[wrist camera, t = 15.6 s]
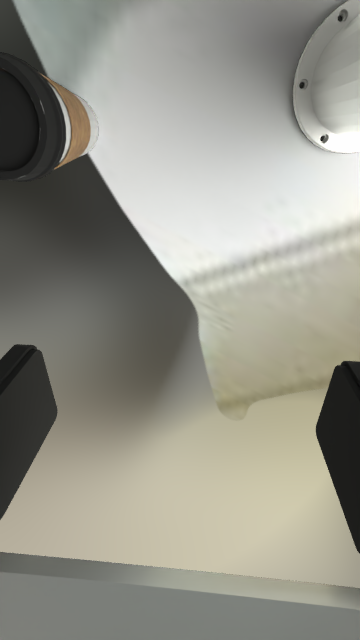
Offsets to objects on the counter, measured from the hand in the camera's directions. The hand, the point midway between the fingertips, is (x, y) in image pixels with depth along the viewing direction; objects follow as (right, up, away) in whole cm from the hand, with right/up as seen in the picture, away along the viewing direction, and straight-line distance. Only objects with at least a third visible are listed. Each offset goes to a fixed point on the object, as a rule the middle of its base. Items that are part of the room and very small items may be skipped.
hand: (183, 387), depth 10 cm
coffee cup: (-12, +24, +25) cm, 37 cm away
